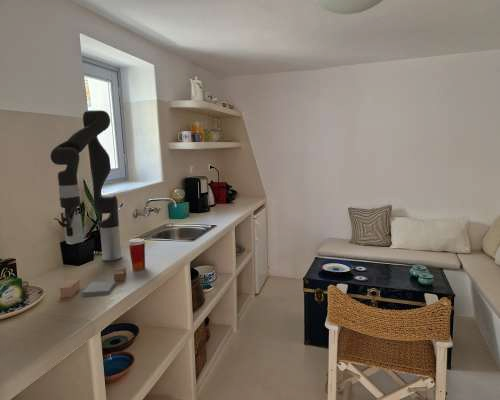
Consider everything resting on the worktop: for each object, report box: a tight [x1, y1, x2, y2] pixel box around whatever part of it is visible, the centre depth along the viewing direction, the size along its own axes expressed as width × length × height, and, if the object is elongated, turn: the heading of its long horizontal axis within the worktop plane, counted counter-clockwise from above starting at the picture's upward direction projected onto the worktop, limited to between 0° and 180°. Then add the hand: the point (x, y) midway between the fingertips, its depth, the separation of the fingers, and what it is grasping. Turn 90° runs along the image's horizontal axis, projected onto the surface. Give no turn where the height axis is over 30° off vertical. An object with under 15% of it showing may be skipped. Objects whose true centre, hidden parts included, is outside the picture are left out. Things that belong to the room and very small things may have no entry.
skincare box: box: [63, 214, 85, 245], centre depth 146 cm, size 6×4×12 cm
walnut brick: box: [113, 266, 127, 284], centre depth 149 cm, size 8×4×4 cm, turn 14°
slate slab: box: [81, 280, 117, 297], centre depth 138 cm, size 10×10×2 cm
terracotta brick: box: [59, 279, 81, 298], centre depth 136 cm, size 8×4×4 cm, turn 5°
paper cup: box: [127, 237, 146, 272], centre depth 161 cm, size 8×8×14 cm
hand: (73, 233), depth 146 cm, fingers closed on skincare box, 7 cm apart
